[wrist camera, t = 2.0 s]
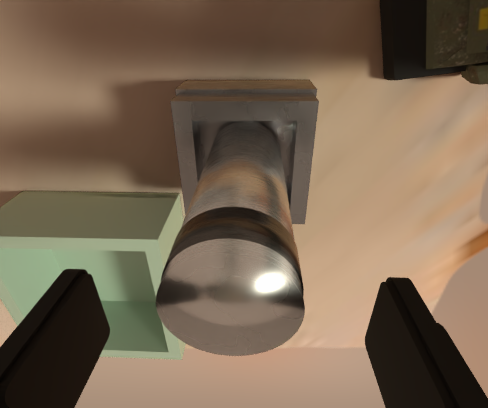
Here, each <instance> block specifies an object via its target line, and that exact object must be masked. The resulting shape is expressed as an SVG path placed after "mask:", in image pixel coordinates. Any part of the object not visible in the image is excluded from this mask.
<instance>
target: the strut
mask: <svg viewBox="0 0 488 408" xmlns="http://www.w3.org/2000/svg"><path fill="white" fill-rule="evenodd" d="M156 309H157V312H158V315H159V317H160V319H161V321H162V323H163V324H164V326H165V327H166V328H167V329H168V330H169V331H170V332H171V333H172V334H173V335H174V336H175V337H177V338H178V339H180V340H181V341H183V342H184V343H186V344H188V345H190V346H192V347H194V348H197V349H199V350H202V351H206V352H210V353H214V354H220V355H229V356H243V355H252V354H258V353H261V352H266V351H268V350H271V349H274V348H276V347H278V346H280V345H282V344H283V343H285V342H286V341H287V340H289V339H290V338H291V337H292V336H293V335H294V334H295V333H296V332H297V330H298V329H299V327H300V326H301V323H302V321H303V318H304V311H305V307H304V300H303V283H302V276H301V270H300V264H299V258H298V251H297V247H296V244H295V241H294V235H293V228H292V222H291V215H290V209H289V202H288V196H287V189H286V183H285V176H284V169H283V163H282V156H281V150H280V145H279V142H278V140H277V138H276V137H275V135H274V134H273V133H272V132H271V131H270V130H269V129H268V128H266V127H265V126H263V125H261V124H259V123H256V122H251V121H240V122H235V123H232V124H230V125H228V126H226V127H225V128H224V129H222V130H221V131H220V132H219V133H218V135H217V136H216V138H215V140H214V142H213V144H212V147H211V150H210V152H209V155H208V158H207V160H206V163H205V166H204V168H203V171H202V174H201V176H200V179H199V182H198V184H197V187H196V189H195V192H194V195H193V197H192V200H191V203H190V205H189V208H188V211H187V213H186V216H185V219H184V221H183V224H182V227H181V229H180V231H179V233H178V234H177V236H176V239H175V241H174V244H173V246H172V249H171V252H170V254H169V257H168V259H167V262H166V265H165V267H164V270H163V273H162V277H161V282H160V285H159V288H158V291H157V295H156Z"/></svg>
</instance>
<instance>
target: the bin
mask: <svg viewBox="0 0 488 408" xmlns="http://www.w3.org/2000/svg"><path fill="white" fill-rule="evenodd" d="M182 224H183V216H182V209H181V202H180V195H179V193H131V192H56V191H22V192H21V193H19V194H18V195H17V196H15V197H14V198H12V199H11V200H10V201H8V202H7V203H6V204H4V205H3V206H1V207H0V299H1V300H2V302H3V303H4V305H5V307H6V308H7V310H8V311H9V313H10V315H11V316H12V318H13V320H14V321H15V323H16V324H17V326H18V325H19V324H20V323H21V321H22V320H23V319H24V318H25V317H26V315H27V314H28V313H29V312H30V310H31V309H32V308H33V307H34V306H35V304H36V303H37V302H38V301H39V299H40V298H41V297H42V296H43V295H44V293H45V292H46V291H47V290H48V288H49V287H50V286H51V285H52V284H53V282H54V281H55V280H56V279H57V277H58V276H59V275H60V274H61V273H62V272H63V271H64V270H65V269H85V270H86V271H87V272H88V274H91V275H92V277H93V280H94V283H95V285H96V288H97V291H98V294H99V297H100V300H101V303H102V306H103V309H104V312H105V314H106V317H107V320H108V323H109V326H110V335H109V338H108V340H107V342H106V344H105V346H104V348H103V351H102V353H101V355H100V357H124V358H149V359H177V360H182V357H183V353H184V348H185V344H186V343H184V342H183V341H181V340H180V339H178V338H177V337H175V336H174V335H173V334H172V333H171V332H170V331H169V330H168V329H167V328H166V327H165V326H164V324H163V323H162V321H161V319H160V317H159V315H158V312H157V309H156V295H157V291H158V288H159V285H160V282H161V277H162V273H163V270H164V267H165V265H166V262H167V259H168V257H169V254H170V252H171V249H172V246H173V244H174V241H175V239H176V236H177V234H178V233H179V231H180V229H181V227H182Z"/></svg>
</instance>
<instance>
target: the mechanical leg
mask: <svg viewBox="0 0 488 408" xmlns="http://www.w3.org/2000/svg"><path fill="white" fill-rule="evenodd" d="M380 13H381V32H382V51H383V69H384V78H385V79H387V80H402V79H409V78H417V77H424V76H432V75H440V74H447V73H455V72H461V75H462V77H463V78H465V79H466V80H467V81H469V82H470V83H473V84H488V0H380Z"/></svg>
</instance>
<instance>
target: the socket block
mask: <svg viewBox="0 0 488 408" xmlns="http://www.w3.org/2000/svg"><path fill="white" fill-rule="evenodd" d="M175 91H176V96H175V97H174V98H173V99H172V100H171V101H170V102H171V110H172V117H173V125H174V132H175V140H176V147H177V155H178V162H179V170H180V177H181V185H182V192H183V200H184V207H185V215H186V213H187V211H188V208H189V205H190V203H191V200H192V197H193V195H194V192H195V189H196V187H197V184H198V182H199V179H200V176H201V174H202V171H203V168H204V166H205V163H206V160H207V158H208V155H209V152H210V150H211V147H212V144H213V142H214V140H215V138H216V136H217V135H218V133H219V132H220V131H221V130H222V129H224V128H225V127H226V126H228V125H230V124H232V123H235V122H240V121H251V122H256V123H259V124H261V125H263V126H265V127H266V128H268V129H269V130H270V131H271V132H272V133H273V134H274V135H275V137H276V138H277V140H278V142H279V145H280V150H281V156H282V163H283V169H284V176H285V183H286V189H287V196H288V202H289V209H290V215H291V222H292V224H305V217H306V209H307V200H308V191H309V182H310V174H311V165H312V156H313V148H314V139H315V130H316V121H317V113H318V104H319V101H318V99H317V98H316V93H317V89H316V87H315V86H314V85H313V83H312V82H311V81H310V80H186V81H185V82H183V83H182V84H181V85H180V86H179V87H178V88H176V89H175Z"/></svg>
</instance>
